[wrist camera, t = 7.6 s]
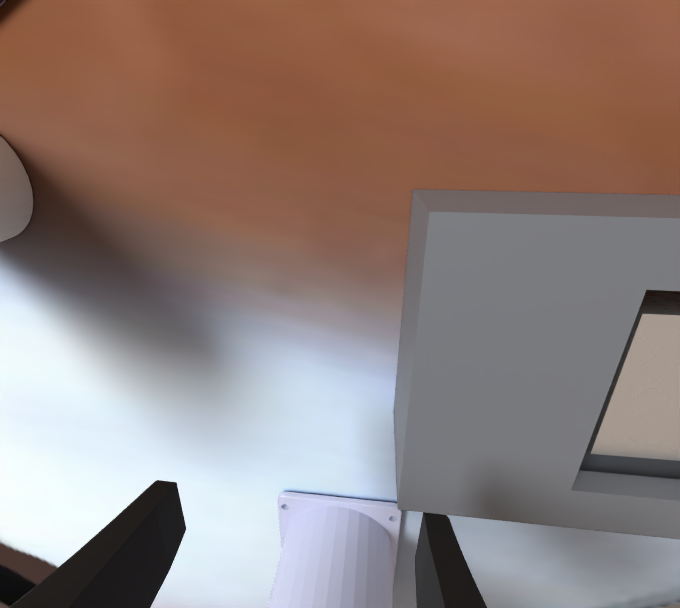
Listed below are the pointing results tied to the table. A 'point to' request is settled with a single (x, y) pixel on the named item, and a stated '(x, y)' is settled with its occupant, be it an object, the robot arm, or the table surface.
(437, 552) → the robot arm
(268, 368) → the table surface
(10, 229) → the coffee cup
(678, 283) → the grey tissue box
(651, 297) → the cream block
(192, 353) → the table surface
